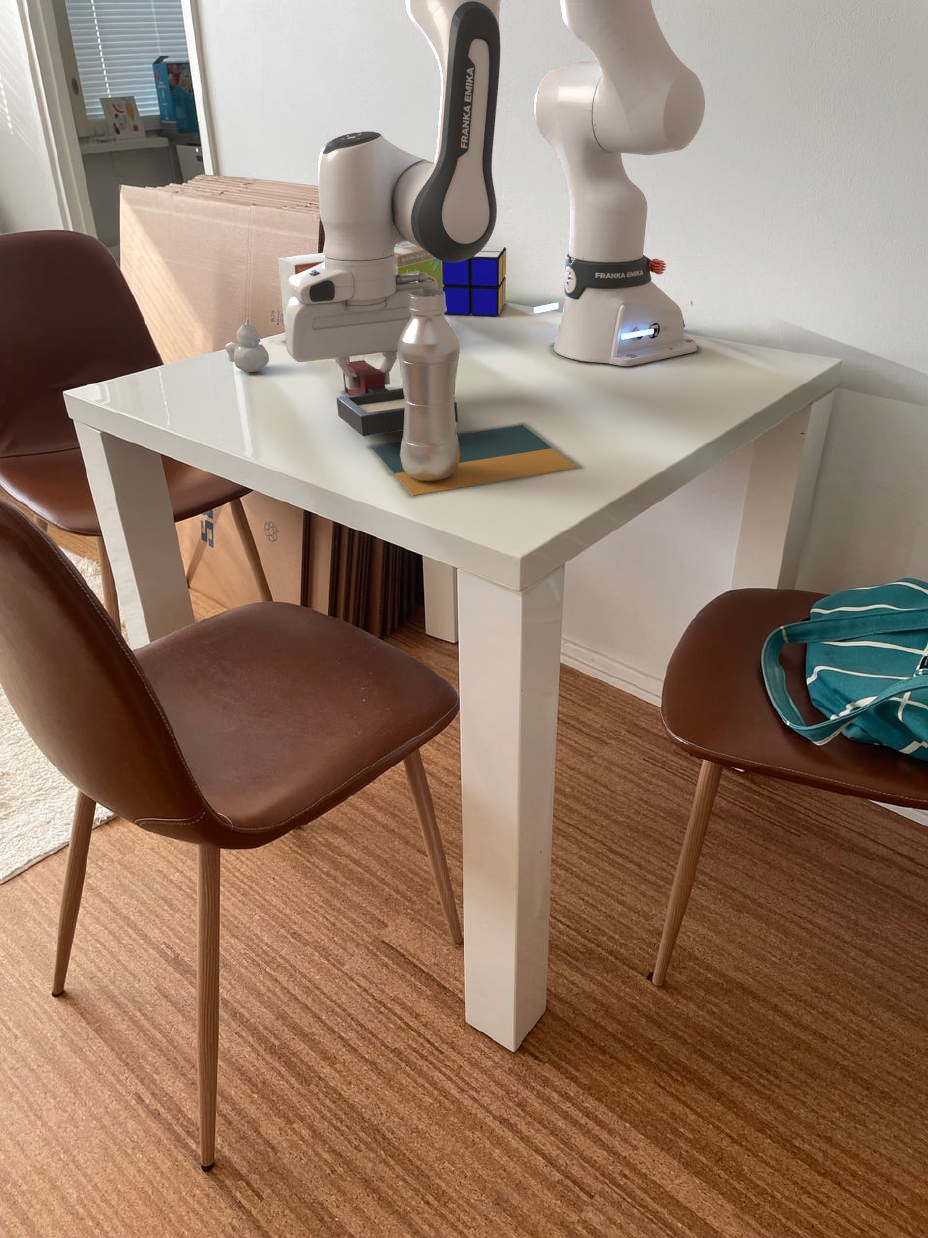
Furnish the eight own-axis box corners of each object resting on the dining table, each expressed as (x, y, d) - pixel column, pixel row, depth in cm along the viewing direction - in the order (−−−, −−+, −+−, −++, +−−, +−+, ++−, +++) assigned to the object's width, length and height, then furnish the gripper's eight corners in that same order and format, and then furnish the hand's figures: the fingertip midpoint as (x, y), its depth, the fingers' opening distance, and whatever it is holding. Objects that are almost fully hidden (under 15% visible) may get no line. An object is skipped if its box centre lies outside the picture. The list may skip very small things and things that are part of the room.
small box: (302, 350, 147) (293, 264, 140) (285, 341, 152) (276, 257, 145) (347, 342, 151) (341, 258, 144) (330, 333, 156) (323, 251, 149)
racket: (314, 395, 129) (310, 366, 127) (396, 384, 133) (394, 356, 131) (362, 436, 109) (359, 402, 107) (458, 422, 113) (456, 389, 111)
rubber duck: (261, 377, 136) (254, 321, 132) (220, 374, 137) (212, 318, 133) (277, 366, 140) (271, 312, 136) (237, 363, 142) (230, 309, 137)
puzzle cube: (442, 314, 166) (441, 255, 161) (452, 301, 174) (451, 244, 169) (498, 316, 164) (499, 257, 159) (505, 303, 173) (506, 246, 167)
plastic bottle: (400, 465, 107) (392, 286, 97) (458, 463, 108) (457, 284, 97) (401, 488, 102) (393, 301, 91) (462, 486, 102) (462, 299, 92)
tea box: (336, 335, 155) (329, 241, 147) (379, 323, 161) (375, 232, 153) (401, 352, 146) (397, 253, 138) (444, 338, 153) (443, 243, 145)
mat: (522, 428, 119) (522, 424, 119) (577, 471, 107) (577, 467, 107) (372, 451, 113) (372, 447, 112) (413, 499, 101) (412, 495, 101)
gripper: (429, 265, 123) (432, 369, 130) (276, 280, 116) (288, 388, 124) (446, 275, 118) (448, 382, 125) (287, 291, 111) (299, 403, 119)
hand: (367, 385), depth 125 cm, fingers closed on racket, 3 cm apart
